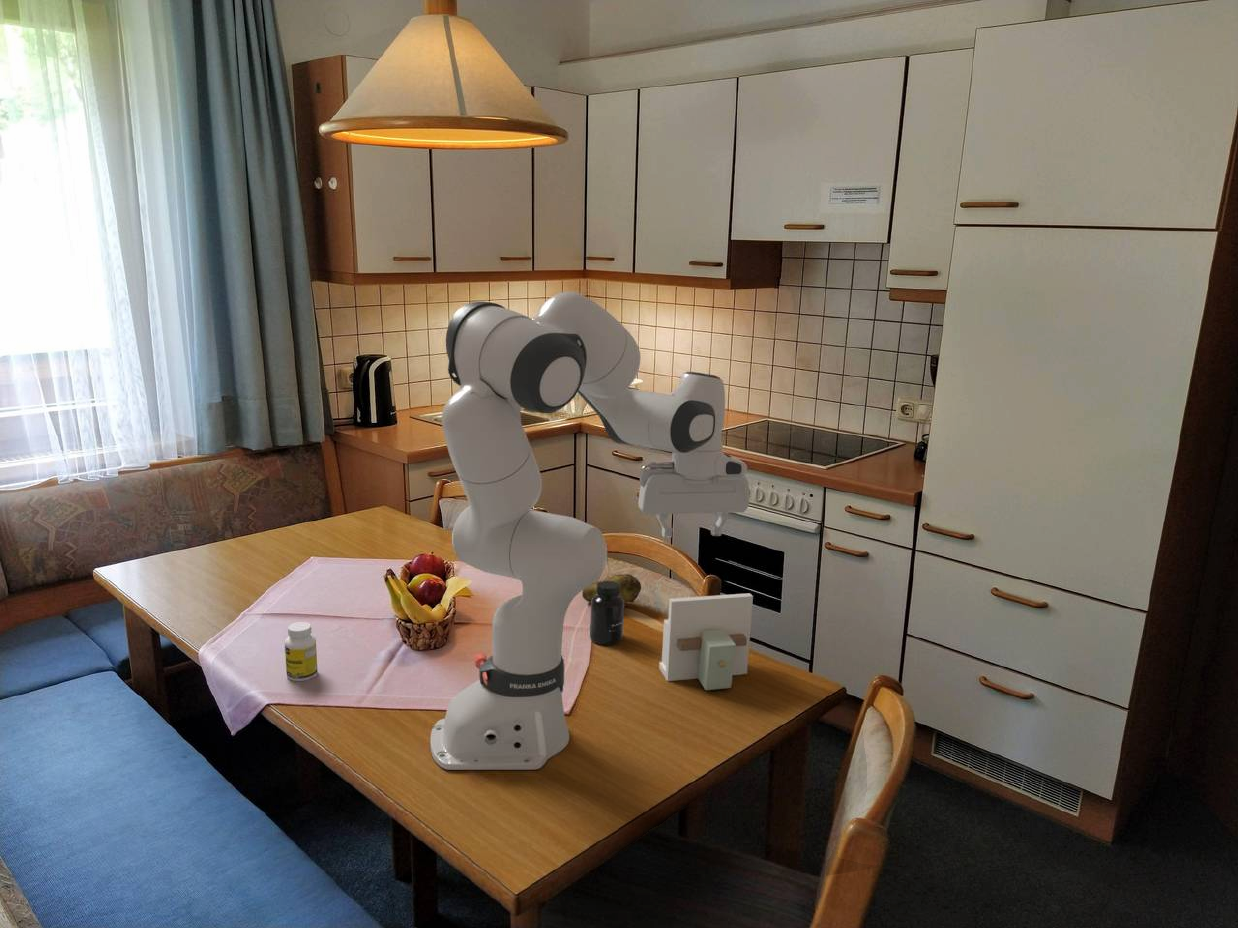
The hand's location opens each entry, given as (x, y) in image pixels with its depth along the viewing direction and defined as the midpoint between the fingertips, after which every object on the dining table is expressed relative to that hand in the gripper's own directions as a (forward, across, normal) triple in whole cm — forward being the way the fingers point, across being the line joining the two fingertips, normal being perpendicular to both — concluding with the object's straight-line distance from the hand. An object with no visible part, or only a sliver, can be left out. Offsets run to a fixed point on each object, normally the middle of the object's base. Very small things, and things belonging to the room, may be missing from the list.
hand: (691, 535), depth 164 cm
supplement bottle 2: (+28, -10, +18) cm, 35 cm away
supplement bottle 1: (+29, -69, +12) cm, 76 cm away
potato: (+28, -5, +35) cm, 45 cm away
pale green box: (+27, +5, -5) cm, 28 cm away
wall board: (+28, +5, 0) cm, 28 cm away
